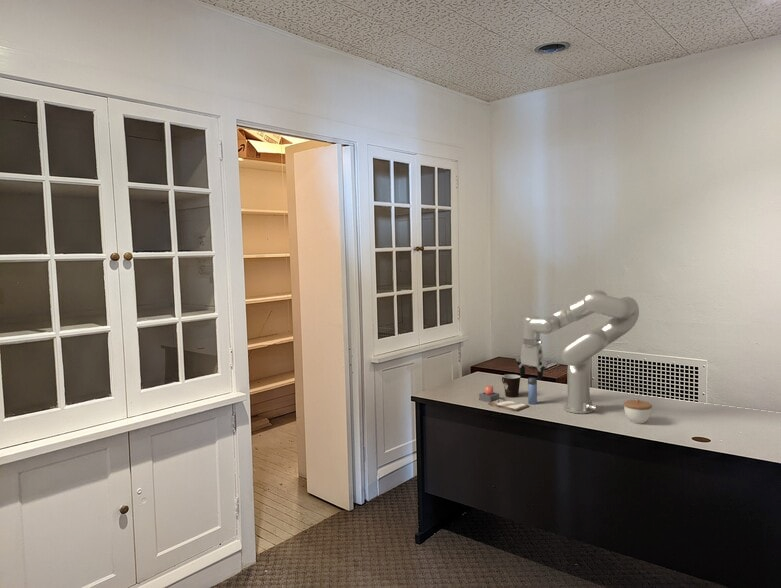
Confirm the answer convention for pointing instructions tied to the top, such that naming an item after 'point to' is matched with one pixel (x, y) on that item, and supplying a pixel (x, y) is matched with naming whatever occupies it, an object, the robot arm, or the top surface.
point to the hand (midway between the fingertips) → (531, 377)
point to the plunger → (488, 390)
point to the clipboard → (508, 405)
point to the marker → (532, 390)
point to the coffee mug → (511, 385)
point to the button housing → (489, 397)
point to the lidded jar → (637, 411)
